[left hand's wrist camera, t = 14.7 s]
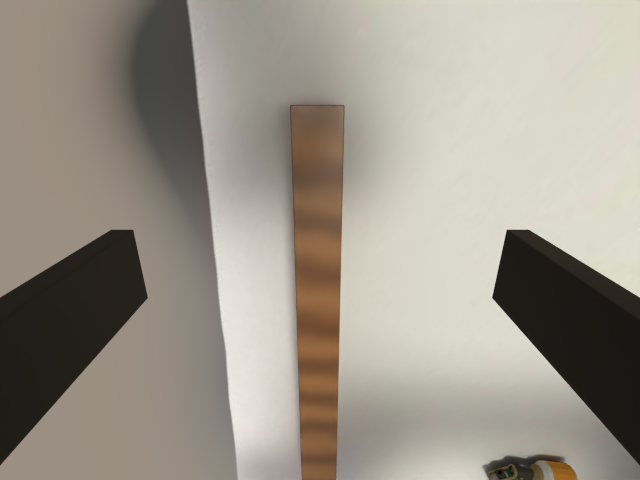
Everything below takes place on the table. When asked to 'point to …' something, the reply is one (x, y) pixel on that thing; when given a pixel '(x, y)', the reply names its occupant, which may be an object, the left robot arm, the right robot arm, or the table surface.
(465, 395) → the table surface
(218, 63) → the table surface
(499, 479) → the spray gun
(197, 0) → the table surface
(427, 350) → the table surface
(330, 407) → the post
